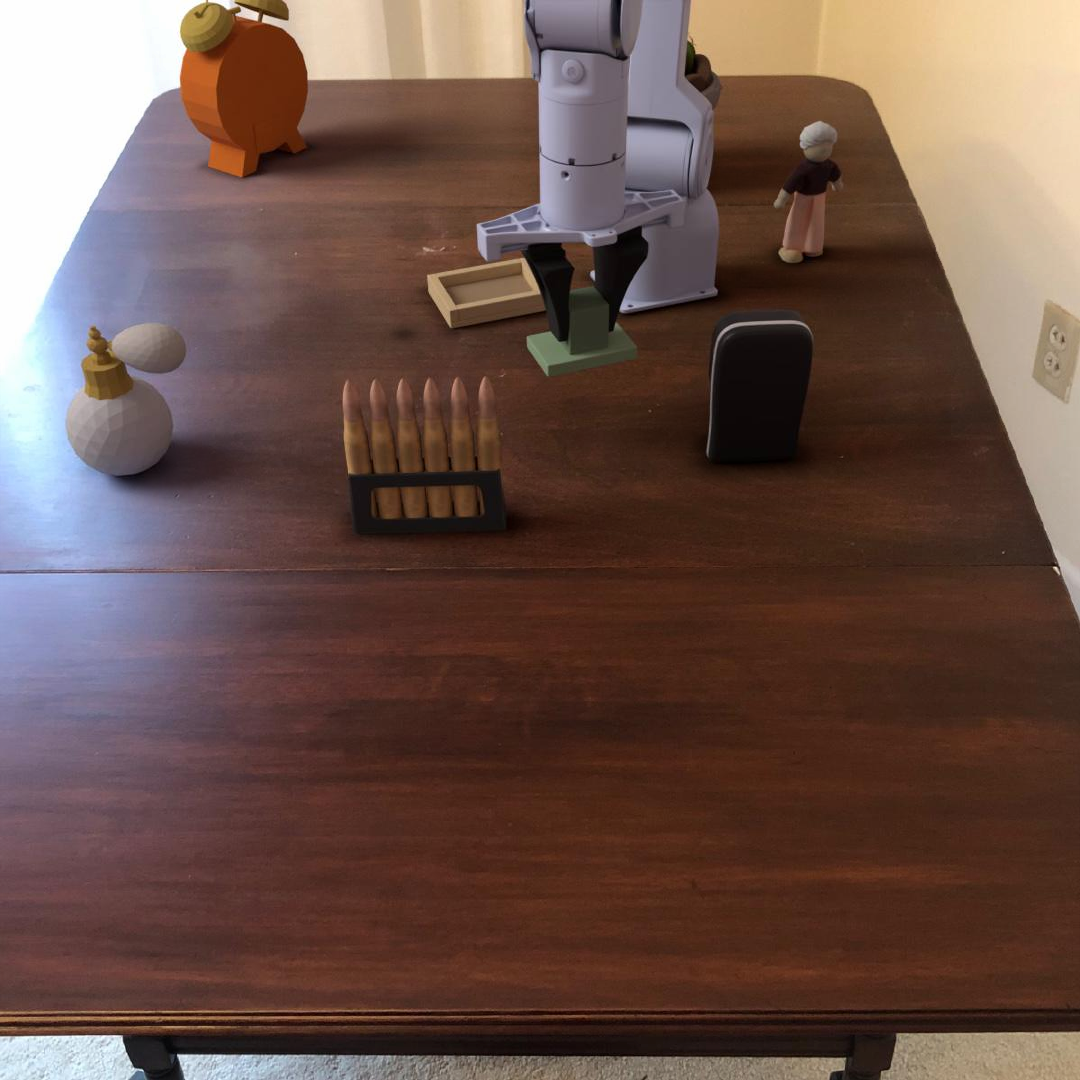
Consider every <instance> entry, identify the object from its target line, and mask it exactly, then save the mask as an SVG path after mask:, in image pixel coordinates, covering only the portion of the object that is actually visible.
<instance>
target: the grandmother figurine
mask: <svg viewBox="0 0 1080 1080" xmlns="http://www.w3.org/2000/svg"><path fill="white" fill-rule="evenodd" d="M799 140H800V142H799V146H800V148H801V149H802V150H803V153H804V156H805V157H806V158H805V159H804V160H802V161H800V162H798V164H797V165H796V166H795V168H794V169H793V170H792V172H791V173H790V175H789V176H788V178H787V179H786V180H785V181H784V183H783V184H782V186H781V189H780V191H779V193H778V195H777V199H776V200H775V201H774V202H773V207H774V209H775V210H778V211H782V210H784V209H785V207H786V203H787V202H789V199H790V198H791V196H792V195H793V194H794V198H793V199H794V200H793V201H792V205H791V208H790V211H789V212H788V213H789V214H788V216H787V219H786V222H785V227H784V234H783V239H782V246H783V247H781V248H780V249H779V251H778V255H779V257H780V259H781V260H782V261H783V262H785V263H787V264H797V263H800V262H802V261H803V260H804V257H803V255H804V256H807V257H810V258H814V257H819V256H822V255H823V253H824V252H823V249H824V243H825V240H824V239H825V220H826V219H825V215H826V214H825V213H826V195H827V190H828V184H829V183H830V184H831V189H832V190H833V192H836V193H839V192H841V191H842V190H843V189H844V183H843V181H842V171H841V168H840V167H839V165H838V164H837V163H836V162H835V161H833V160H832V159H829V158H830V156H831V154H832V152H833V149H834V147H833V146H834V145H835V143H837V141H838V133H837V131H836V128H835V127H833V126H831V125H830V124H829V123H825V122H824V121H822V120H818V121H815V122H813V123H811V124H810V125H807V126H805V127H803V130H802V131H801V134H800V135H799Z"/></svg>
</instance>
